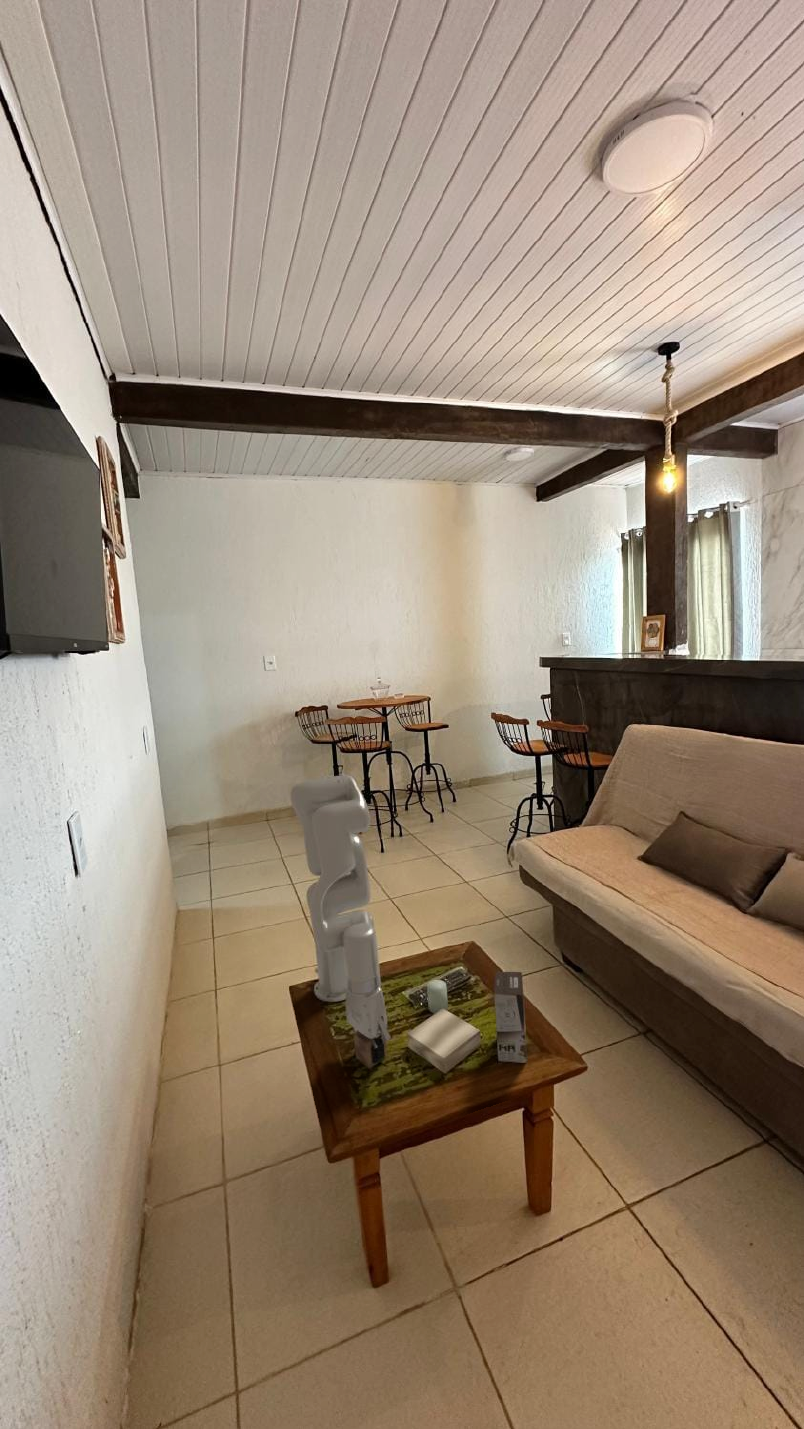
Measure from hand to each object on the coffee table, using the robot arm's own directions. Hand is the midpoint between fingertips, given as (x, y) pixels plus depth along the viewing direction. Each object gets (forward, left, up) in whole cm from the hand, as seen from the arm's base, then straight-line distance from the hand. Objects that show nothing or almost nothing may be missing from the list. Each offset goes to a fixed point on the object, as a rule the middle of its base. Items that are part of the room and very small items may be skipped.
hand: (370, 1053), depth 128 cm
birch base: (+10, +14, -1) cm, 17 cm away
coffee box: (+22, +24, -1) cm, 33 cm away
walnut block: (0, 0, -1) cm, 1 cm away
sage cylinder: (-1, +23, -1) cm, 23 cm away
